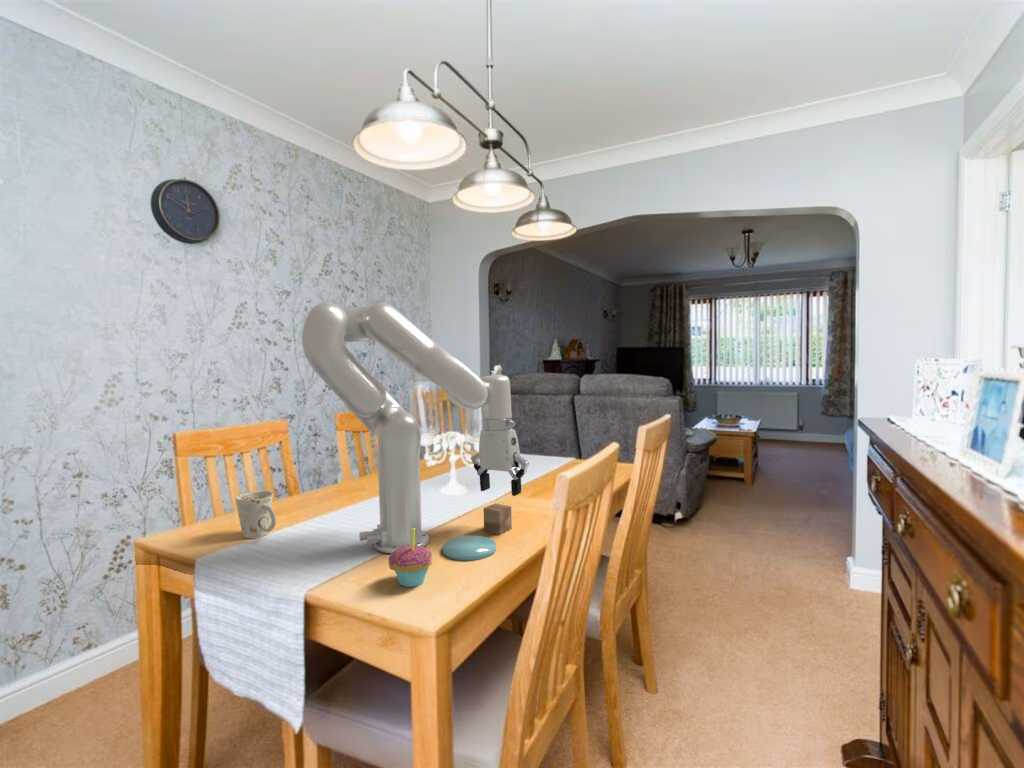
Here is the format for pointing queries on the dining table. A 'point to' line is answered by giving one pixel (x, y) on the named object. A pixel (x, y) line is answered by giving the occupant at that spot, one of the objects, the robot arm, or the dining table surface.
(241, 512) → the mug
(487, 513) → the walnut block
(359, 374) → the robot arm
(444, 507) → the dining table surface
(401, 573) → the cupcake
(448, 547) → the teal dish
